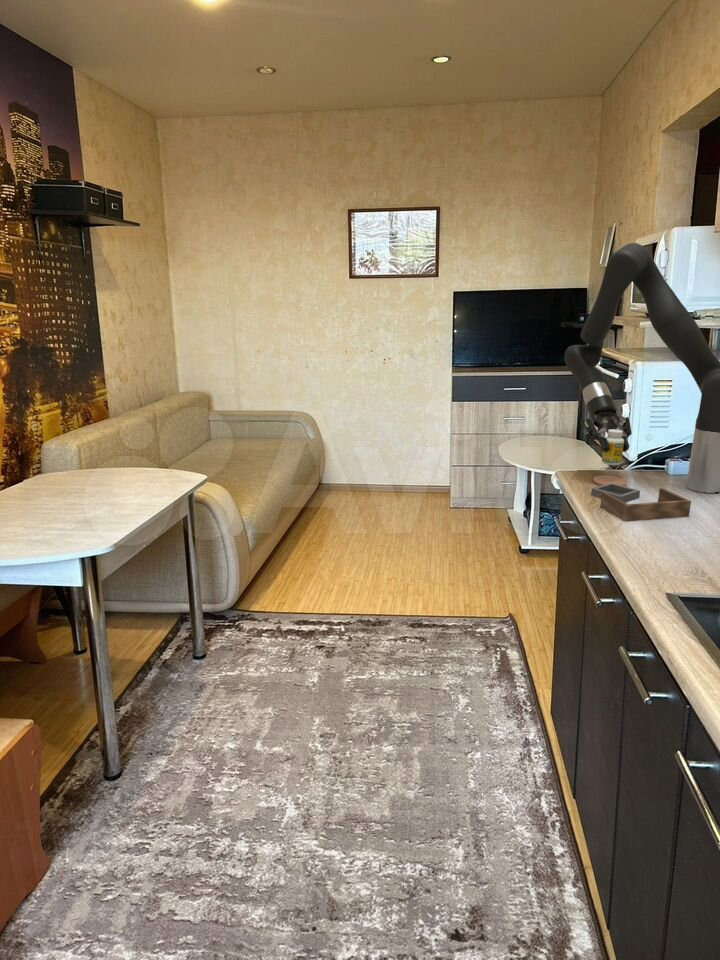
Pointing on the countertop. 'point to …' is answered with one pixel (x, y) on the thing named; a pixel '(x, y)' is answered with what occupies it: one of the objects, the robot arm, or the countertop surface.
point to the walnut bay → (648, 507)
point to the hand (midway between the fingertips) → (616, 450)
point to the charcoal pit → (616, 492)
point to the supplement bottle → (614, 448)
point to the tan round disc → (609, 480)
